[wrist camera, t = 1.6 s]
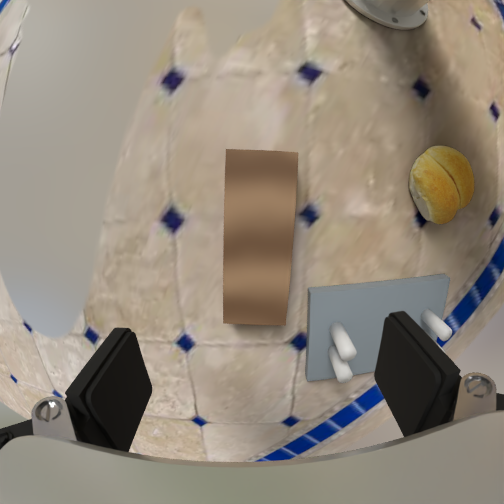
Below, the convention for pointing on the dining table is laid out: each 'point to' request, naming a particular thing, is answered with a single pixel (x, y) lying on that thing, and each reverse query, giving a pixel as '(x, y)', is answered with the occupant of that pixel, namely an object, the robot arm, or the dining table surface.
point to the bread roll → (441, 183)
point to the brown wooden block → (258, 235)
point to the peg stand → (367, 321)
